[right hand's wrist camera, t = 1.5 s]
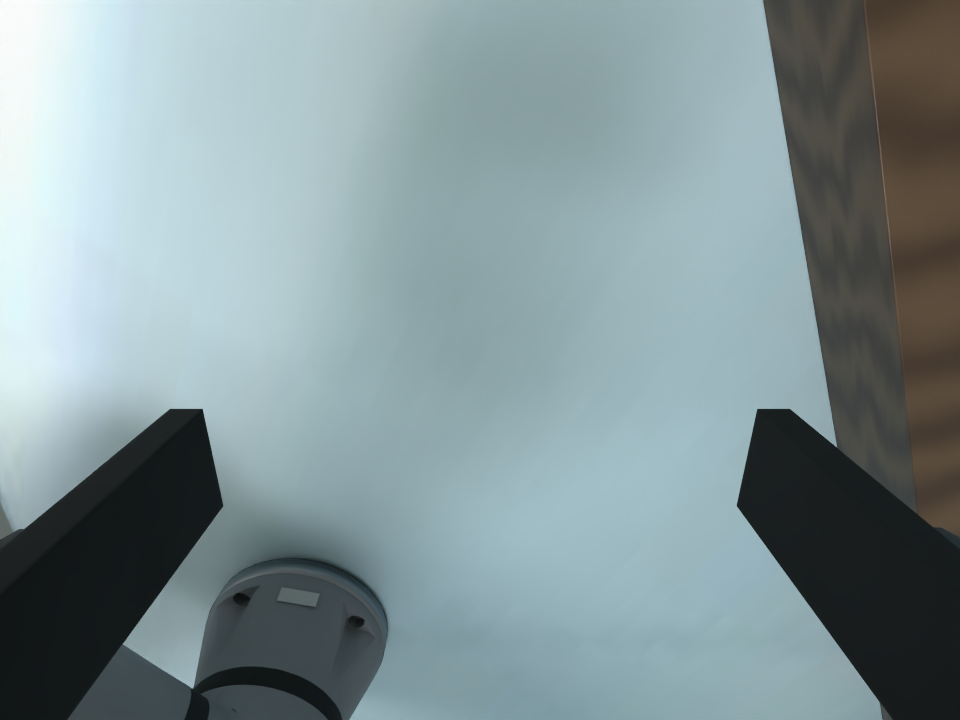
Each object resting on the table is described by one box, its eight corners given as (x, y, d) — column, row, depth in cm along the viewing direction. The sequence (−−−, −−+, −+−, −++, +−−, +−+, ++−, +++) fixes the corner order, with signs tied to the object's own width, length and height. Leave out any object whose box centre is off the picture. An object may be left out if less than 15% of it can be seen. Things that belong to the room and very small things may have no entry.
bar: (936, 752, 53) (1011, 851, 45) (889, 762, 54) (955, 862, 46) (823, -237, 26) (962, -395, 18) (730, -192, 26) (828, -326, 19)
